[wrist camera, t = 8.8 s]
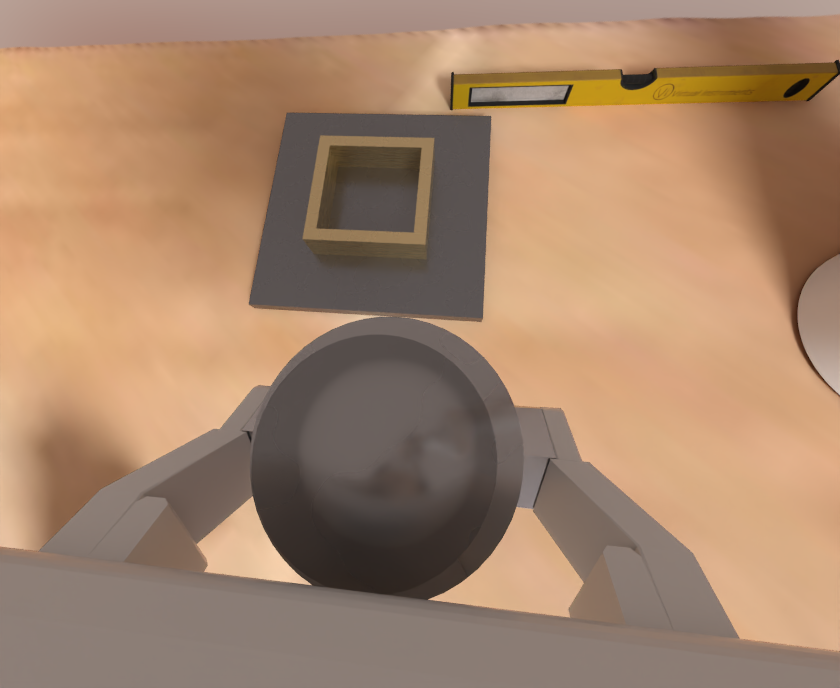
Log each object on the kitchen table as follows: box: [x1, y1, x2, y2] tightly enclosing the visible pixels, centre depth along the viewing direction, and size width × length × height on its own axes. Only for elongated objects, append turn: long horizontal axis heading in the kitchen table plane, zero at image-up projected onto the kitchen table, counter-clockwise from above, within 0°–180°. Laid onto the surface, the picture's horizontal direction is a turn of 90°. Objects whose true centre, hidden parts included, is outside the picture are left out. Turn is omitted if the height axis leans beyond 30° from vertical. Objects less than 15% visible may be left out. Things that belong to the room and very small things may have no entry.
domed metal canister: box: [250, 317, 524, 600], centre depth 9 cm, size 5×5×9 cm
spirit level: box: [450, 60, 840, 110], centre depth 32 cm, size 33×1×3 cm, turn 88°
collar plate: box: [249, 113, 491, 322], centre depth 30 cm, size 20×20×4 cm
